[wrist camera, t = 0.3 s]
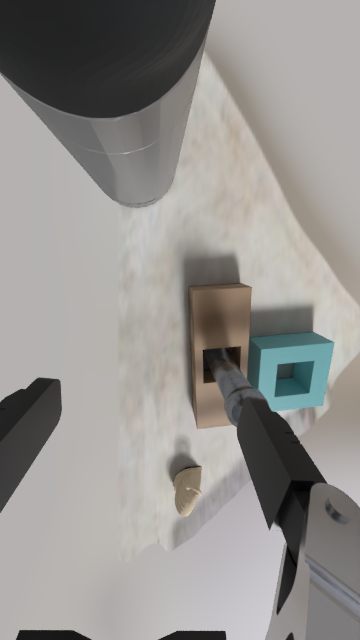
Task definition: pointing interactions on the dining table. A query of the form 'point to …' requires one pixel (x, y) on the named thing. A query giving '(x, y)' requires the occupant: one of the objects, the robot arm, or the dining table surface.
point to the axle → (230, 382)
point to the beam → (216, 343)
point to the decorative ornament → (187, 489)
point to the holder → (308, 370)
